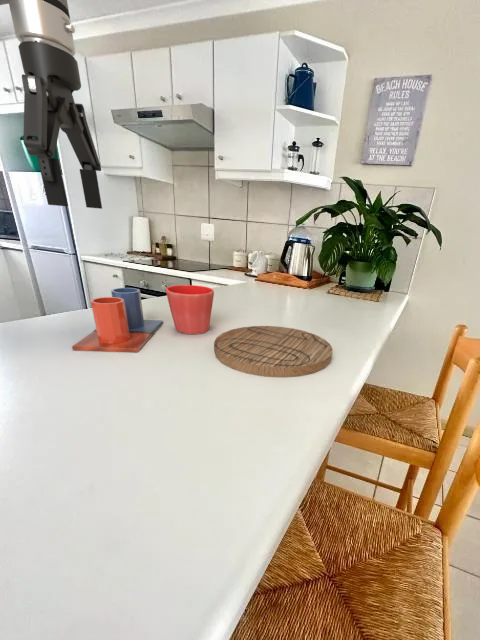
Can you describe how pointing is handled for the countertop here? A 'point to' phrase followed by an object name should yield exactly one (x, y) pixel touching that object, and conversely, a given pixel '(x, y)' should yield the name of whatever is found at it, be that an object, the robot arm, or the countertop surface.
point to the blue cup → (131, 305)
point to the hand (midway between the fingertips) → (78, 207)
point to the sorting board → (132, 345)
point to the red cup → (110, 320)
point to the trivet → (272, 351)
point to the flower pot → (190, 307)
